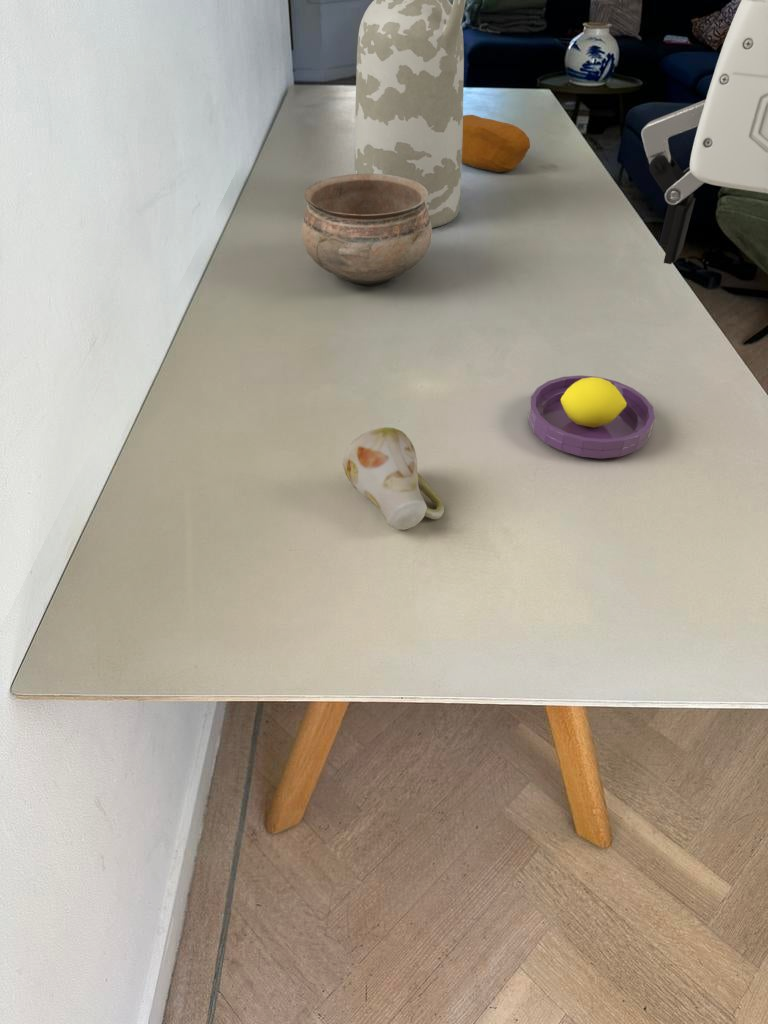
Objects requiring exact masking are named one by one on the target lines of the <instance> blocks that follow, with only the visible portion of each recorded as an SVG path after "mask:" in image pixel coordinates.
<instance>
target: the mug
mask: <svg viewBox="0 0 768 1024" xmlns="http://www.w3.org/2000/svg"><path fill="white" fill-rule="evenodd" d="M341 464H342V467H343V470H344V473H345V475H346V478H347V479H348V481H349V482H350V484H351V485H352V486H353V487H354V489H356V490H357V491H358V492H359V493H360V494H361V495H362V496H364V497H365V498H366V499H368V500H369V501H371V502H372V503H374V505H375V506H377V507H378V509H379V510H380V512H381V513H382V515H383V517H384V519H385V521H386V522H387V525H388V527H391V528H393V529H397V530H401V531H402V530H409V529H411V528H414V527H416V526H417V525H418V524H419V523H420V522H421V521H423V520H424V518H425V517H426V518H429V519H431V520H439V519H440V518H442V516H443V515H444V512H445V507H444V504H443V502H442V500H441V499H440V497H439V496H437V494H436V493H435V492H434V490H433V489H432V488H431V487H430V486H429V485H428V484H427V482H426V481H425V480H424V478H422V476H421V475H420V474H419V472H418V457H417V453H416V449H415V447H414V445H413V442H412V441H411V439H410V437H408V435H407V434H406V433H405V432H403V431H402V430H400V429H398V428H395V427H387V426H386V427H380V428H375V429H372V430H369V431H367V432H364V433H362V434H360V435H358V436H357V437H356V438H355V439H354V440H352V442H351V443H350V444H349V446H347V448H346V450H345V452H344V454H343V456H342V461H341ZM421 492H422V493H423V494H424V495H425V496H426V497H427V498H428V499H429V500H430V502H431V503H432V504H433V506H434V507H435V509H432V508H431V507H428V506H427V504H426V501H425V499H424V497H423V496H422V493H421Z"/></svg>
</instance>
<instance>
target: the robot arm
mask: <svg viewBox="0 0 768 1024" xmlns="http://www.w3.org/2000/svg"><path fill="white" fill-rule="evenodd" d="M694 128H696V133H695V137H694V140H693V145H692V149H691V153H690V160H689V167H687V168H686V169H684V170H682V169H681V168H680V165H679V164H678V163H677V161H676V160H675V158H674V156H673V155H672V153H671V152H670V145H669V138H671V137H674V136H676V135H679V134H682V133H685V132H687V131H690V130H692V129H694ZM640 135H641V140H642V143H643V148H644V151H645V155H646V158H647V162H648V164H649V165H648V170H649V172H650V175H651V176H652V177H653V179H654V180H655V182H656V184H657V185H658V187H659V188H660V190H661V191H662V193H663V194H664V200H665V202H666V203H667V208H666V213H665V217H664V221H663V225H662V230H661V234H660V237H659V241H658V242H659V243H658V245H659V246H660V247H665V248H666V249H665V255H664V258H663V264H668V265H672V264H675V263H676V261H677V260H678V258H679V256H680V254H681V253H682V250H683V248H684V244H685V241H686V238H687V237H686V236H687V232H688V229H689V226H690V225H689V224H690V220H691V217H692V214H693V210H694V205H695V202H696V197H694V192H695V191H696V190H698V189H699V188H700V187H701V186H703V185H704V184H707V185H708V184H709V185H712V186H715V187H716V186H717V187H722V188H730V189H736V190H742V191H750V192H757V193H761V194H762V193H763V194H768V0H740V3H739V5H738V7H737V9H736V12H735V14H734V16H733V18H732V21H731V24H730V26H729V29H728V31H727V34H726V36H725V38H724V42H723V45H722V47H721V50H720V53H719V56H718V59H717V62H716V64H715V68H714V72H713V75H712V78H711V81H710V84H709V88H708V90H707V94H706V98H705V99H703V100H701V101H699V102H696V103H693V104H690V105H688V106H685V107H683V108H680V109H678V110H676V111H673V112H671V113H668V114H665V115H662V116H660V117H657V118H655V119H653V120H651V121H648V123H646V125H644V127H643V128H642V129H641V132H640Z"/></svg>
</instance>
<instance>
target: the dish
mask: <svg viewBox="0 0 768 1024" xmlns="http://www.w3.org/2000/svg"><path fill="white" fill-rule="evenodd" d="M591 377H595V378H602V379H604V380H607V381H609V382H611V383H612V384H613V385H614V386H615V387H616V388H617V389H618V391H619V392H620V393H621V395H622V396H623V398H624V400H625V401H626V403H627V404H626V407H625V408H624V409H623V410H622V411H621V413H620V414H619V415H618V416H617V417H616V418H615V419H614V420H613V421H612V422H611V423H608V424H605V425H602V426H598V427H594V428H593V427H587V426H582V425H579V424H576V423H575V422H574V421H572V420H571V419H570V418H569V417H568V415H567V414H566V412H565V410H564V408H563V406H562V404H561V398H562V396H563V394H564V393H565V392H566V390H567V389H568V388H569V387H570V386H571V385H572V384H574V383H575V382H577V381H579V380H580V379H584V378H591ZM528 407H529V408H528V420H527V421H528V424H529V426H530V428H531V430H532V432H533V434H535V435H536V437H538V438H539V439H540V440H541V441H542V442H543V443H545V444H547V445H548V446H550V447H552V448H554V449H556V450H558V451H561V452H564V453H567V454H571V455H574V456H577V457H581V458H591V459H611V458H612V459H613V458H620V457H623V456H626V455H629V454H633V453H635V452H637V451H638V450H640V449H641V448H642V447H643V446H644V445H646V444H647V443H648V441H649V438H650V436H651V433H652V429H653V426H654V423H655V418H656V416H655V410H654V407H653V405H652V404H651V403H650V401H649V400H648V399H647V397H646V396H644V395H643V394H642V393H640V391H638V390H636V389H635V388H633V387H631V386H629V385H627V384H624V383H622V382H619V381H617V380H613V379H609V378H605V377H600V376H593V375H592V376H591V375H569V376H560V377H557V378H555V379H554V378H553V379H550V380H547V381H546V382H544V383H543V384H541V385H539V386H537V388H536V389H535V390H534V392H533V394H531V396H530V401H529V406H528Z"/></svg>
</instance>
